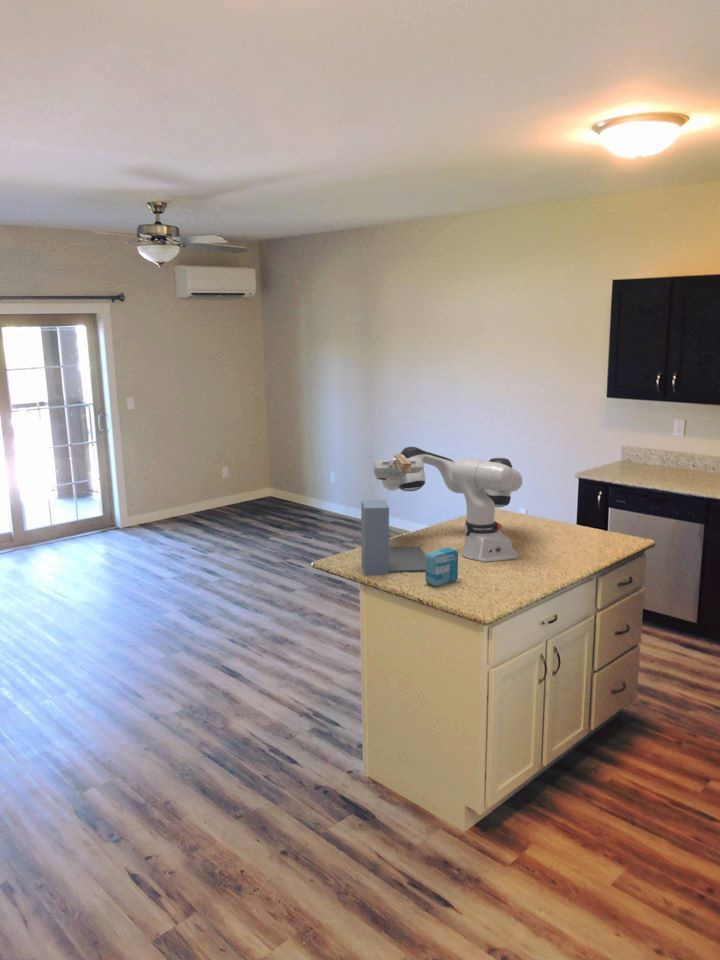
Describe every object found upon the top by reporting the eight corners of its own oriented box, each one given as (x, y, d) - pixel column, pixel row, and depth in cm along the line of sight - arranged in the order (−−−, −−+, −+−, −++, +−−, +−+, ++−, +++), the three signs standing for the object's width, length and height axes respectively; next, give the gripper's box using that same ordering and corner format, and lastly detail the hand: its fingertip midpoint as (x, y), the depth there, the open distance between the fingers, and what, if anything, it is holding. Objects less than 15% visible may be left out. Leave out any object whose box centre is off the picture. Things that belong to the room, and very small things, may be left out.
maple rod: (402, 462, 304) (402, 454, 303) (411, 472, 284) (411, 463, 284) (393, 462, 303) (393, 454, 303) (402, 472, 284) (402, 463, 283)
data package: (433, 587, 268) (433, 555, 266) (425, 584, 272) (425, 552, 269) (457, 580, 275) (458, 549, 272) (449, 577, 279) (450, 546, 276)
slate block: (384, 564, 293) (384, 500, 288) (388, 574, 282) (389, 507, 276) (361, 565, 292) (361, 500, 287) (364, 575, 281) (364, 508, 275)
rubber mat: (419, 548, 314) (419, 545, 314) (433, 571, 285) (433, 569, 285) (379, 549, 312) (379, 547, 312) (389, 573, 283) (389, 570, 283)
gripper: (421, 477, 310) (427, 467, 297) (372, 479, 307) (376, 468, 294) (419, 463, 312) (425, 452, 299) (371, 464, 309) (375, 453, 296)
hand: (400, 460), depth 296 cm, fingers closed on maple rod, 3 cm apart
